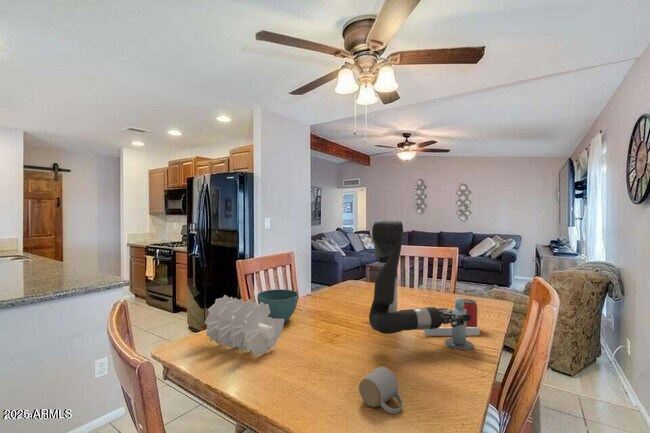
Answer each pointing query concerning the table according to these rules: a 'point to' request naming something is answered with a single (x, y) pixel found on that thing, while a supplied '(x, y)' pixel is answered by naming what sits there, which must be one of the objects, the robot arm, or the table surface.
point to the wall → (449, 331)
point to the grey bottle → (460, 331)
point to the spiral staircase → (243, 325)
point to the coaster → (459, 345)
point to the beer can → (471, 312)
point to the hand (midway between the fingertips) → (465, 315)
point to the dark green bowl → (279, 302)
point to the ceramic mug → (380, 389)
